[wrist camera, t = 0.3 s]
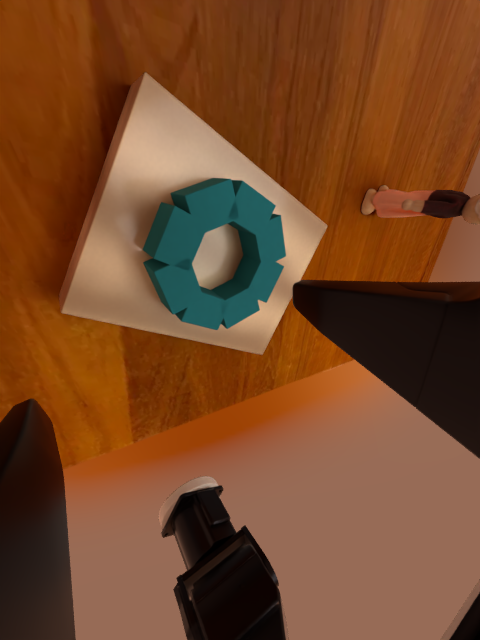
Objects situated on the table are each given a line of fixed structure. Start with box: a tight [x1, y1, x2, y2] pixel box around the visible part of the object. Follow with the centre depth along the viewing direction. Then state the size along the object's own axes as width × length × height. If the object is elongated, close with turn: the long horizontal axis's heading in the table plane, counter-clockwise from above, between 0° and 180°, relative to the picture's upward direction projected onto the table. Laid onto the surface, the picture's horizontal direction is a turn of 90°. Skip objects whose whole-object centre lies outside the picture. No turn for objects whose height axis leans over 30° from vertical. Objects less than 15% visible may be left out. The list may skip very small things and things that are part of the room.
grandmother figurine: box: [361, 185, 480, 224], centre depth 28 cm, size 8×4×13 cm, turn 105°
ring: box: [143, 178, 286, 330], centre depth 20 cm, size 10×10×2 cm
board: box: [59, 72, 327, 355], centre depth 22 cm, size 14×18×3 cm
